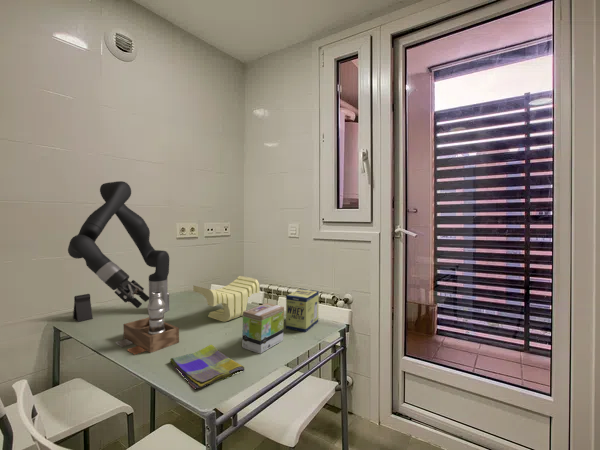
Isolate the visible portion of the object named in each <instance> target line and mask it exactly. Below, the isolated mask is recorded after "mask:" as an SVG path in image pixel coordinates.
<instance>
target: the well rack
mask: <svg viewBox="0 0 600 450" xmlns="http://www.w3.org/2000/svg"><path fill="white" fill-rule="evenodd" d="M164 327H165V331H164V332H161V333H158V334H155V335H152V336H151V335H149V334H148V332H149V316H148V317H144V318H140V319H138V320H134V321H129V322H126V323H124V324H123V339H121V340H118V341H115V344H116V345H118V346H120V347H121V348H124V347H127V346H130V345H133V344H134V345H135V346H133V347H130V348H127V352H129V353H131V354H132V353H133V355H134V356H135V354H136V355H138V353H139V354H141V352H142V353H144V352H147V351H148V352H147V353H149V352H150V353H149V354H151V352H152V353H154V352H157V351H160V350H162V349H164V348H168V347H170V346H173V345H175V344H176V345H177V344H179V343H180V328H179V327H178V326H175V325H173V324H170V323H168V322H165V321H164Z"/></svg>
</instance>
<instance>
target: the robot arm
mask: <svg viewBox="0 0 600 450" xmlns="http://www.w3.org/2000/svg"><path fill="white" fill-rule="evenodd" d="M99 193H100V196H101V198H102V199H103V201H104V203H103V204H102V205H100V206H99V207H98V208H97V209H95V210H94V211H92V213H91V214H89V215H88V216H87V218H86V219H85V221H84V222H83V224H82V225H81V227H80V229H79V232H78V234H76V235H75V236H73V237H72V238H70V241H69V244H68V248H67V252H68V255H69V256H70V257H72V258H73V259H83V260H84V261H85V264H86V265H85V266H87V268H88V269H90V270H91V272H93V273H94V274H95V275H96V276H97V277H98V279H99V280H101V281H102V283H104V284H105V285H106V286H108V288H110V289H111V290H113V291H114V293H115V295H116V296H117V297H119V298H120V299H121V300H122V301H123V302H124V303H130V304H131V305H133V306H134V307H135V308H136V309H139V308H140V307H141V306H142V302H141V301H139V299H137V298H136V297H135V296H134V295H136V296H138V297H139V298H141V300H142V301H144V302H145V303H146V302H148V303H149V302H150V301H151V299H152V298H151V293H152V292H157V291H160V292H161V295H162V297H161V298H162V300H163V301H164V303H165V310H164V313H166V312H168V311H170V292H168V290H169V289H168V286H169V284H168V276H169V274H170V273H169V272H170V255H169V253H168V251H166V250H162V249H161V250H159V249H155V248H154V247H153V246H152V244H151V241H150V234H151V232H150V228H149V225H148V224H147V223H146V221H145V219H144V218H143V217H142V216H140V215H139V214H138V213H136V212H135V211H134V210H132V209H130V208H129V207H128V206H127V205H126V204H125V203H126V202H127V201H128V200H129V199H130V198H131V196H132V188H131V186H130V185H129V183H128V182H126V181H111V182H110V181H109V182H105V183H102V184H101V186H100V188H99ZM114 215H116V217H117V219H118V220H119V221H120V224H122V225H123V228H124V229H125V231H126V232H127V234H128V235H129V237H130V238H131V239H132V241H133V242H134V244H135V246H136V247H137V249H138V251H139V253H140V255H141V256H142V259H143V261H144V262H145V264H146V265H147V266H148V267H150V268H155V270H154V272H153V273H151V274H149V275H148V295H147V294H146V292H144V290H145V288H144V287H143V286H142V285H140V284H139V283H138V282H137V281H136V280H134V279H132V280H131V281H129V279H130V275H129V274H127V273H128V272H127V273H126V272H125V270H123V269H122V268H121V267H120V266H119V265H118V264H117V263H115V262H114V261H112V260H111V259H110V258H109V257H108V256H106V255H105V254H104V253H103V251H101V249H100V247H99V245H97V244H96V240H97V239H98V238H99V236H100V235H101V234H102V233H103V231H104V230H105V227H106V226H107V224H108V223H109V222H110V220H111V219H112V218H113V216H114Z"/></svg>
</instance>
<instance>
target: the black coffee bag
mask: <svg viewBox="0 0 600 450" xmlns="http://www.w3.org/2000/svg"><path fill="white" fill-rule="evenodd" d="M72 319H73V320H75V322H78V323H80V322H85V321H88V320H92V319H93V312H92V303H91V294H90V293H87V294H86V293H85V294H79V295H75V296H74V304H73V311H72Z"/></svg>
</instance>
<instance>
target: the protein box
mask: <svg viewBox="0 0 600 450" xmlns="http://www.w3.org/2000/svg"><path fill="white" fill-rule="evenodd" d="M319 295H320V291H318V290H314V289H312V290H311V289H306V288H299V289H297V290H295V291H293V292H291V293H289V294H287V295H286V296H285V301H286V302H285V309H286V310H285V317H286V318H285V329H289V330H293V331H294V330H295V331H299V332H303V333H307V332H308V331H309V330H310V329H311V328H313V327H314V326H315V325H316V324H317V323H319V299H320V298H319Z"/></svg>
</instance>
